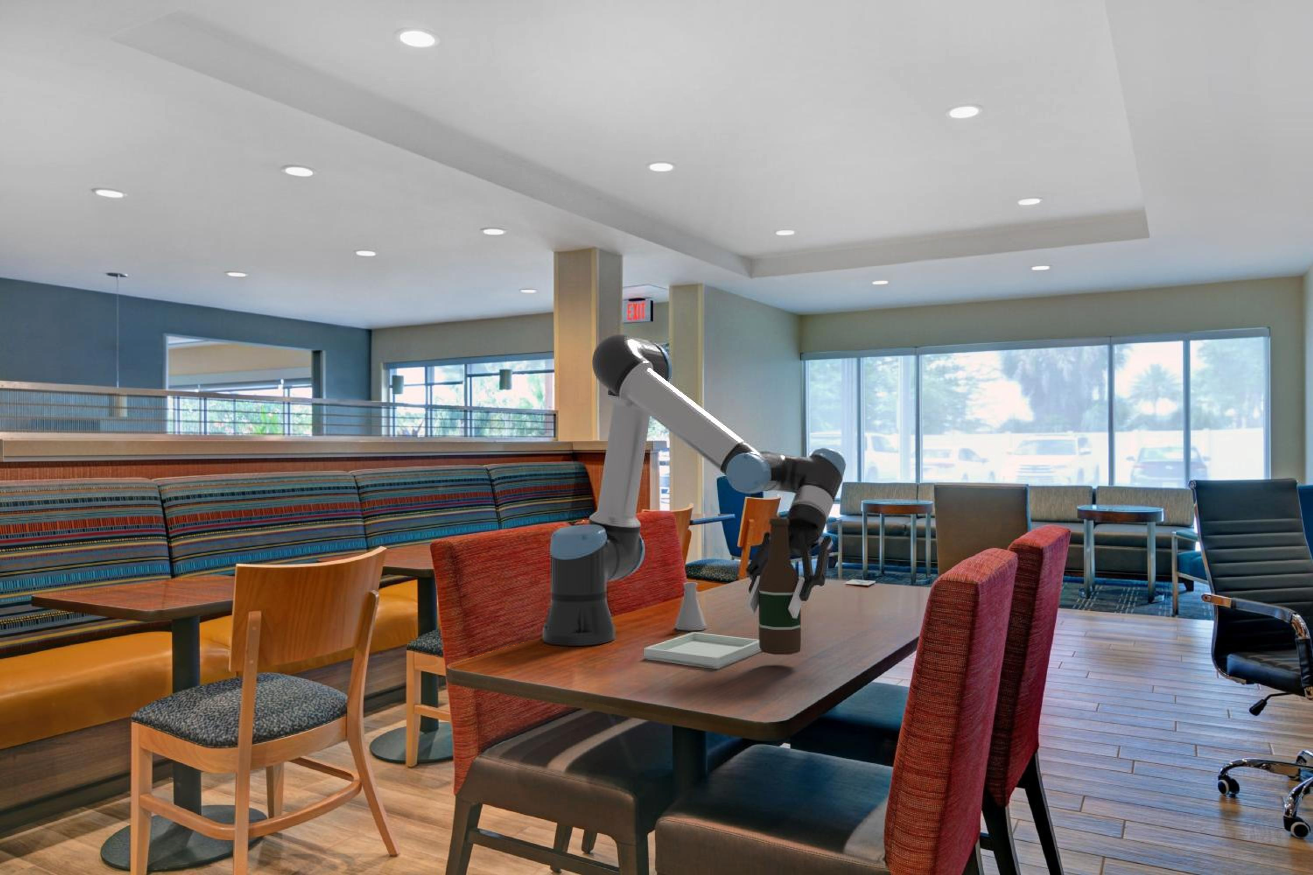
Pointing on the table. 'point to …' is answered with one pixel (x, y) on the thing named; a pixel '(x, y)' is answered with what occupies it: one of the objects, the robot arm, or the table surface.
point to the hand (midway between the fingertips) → (771, 611)
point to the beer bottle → (778, 596)
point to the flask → (690, 610)
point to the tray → (703, 650)
